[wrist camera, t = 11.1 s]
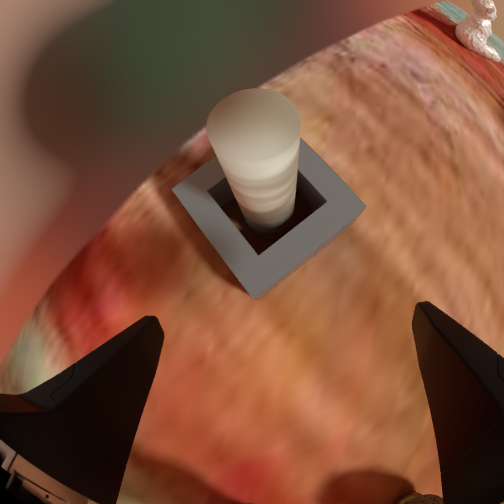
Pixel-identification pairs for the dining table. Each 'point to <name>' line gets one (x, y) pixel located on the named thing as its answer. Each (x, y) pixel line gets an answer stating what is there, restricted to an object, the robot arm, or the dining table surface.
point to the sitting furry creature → (478, 29)
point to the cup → (419, 499)
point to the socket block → (290, 245)
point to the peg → (259, 155)
